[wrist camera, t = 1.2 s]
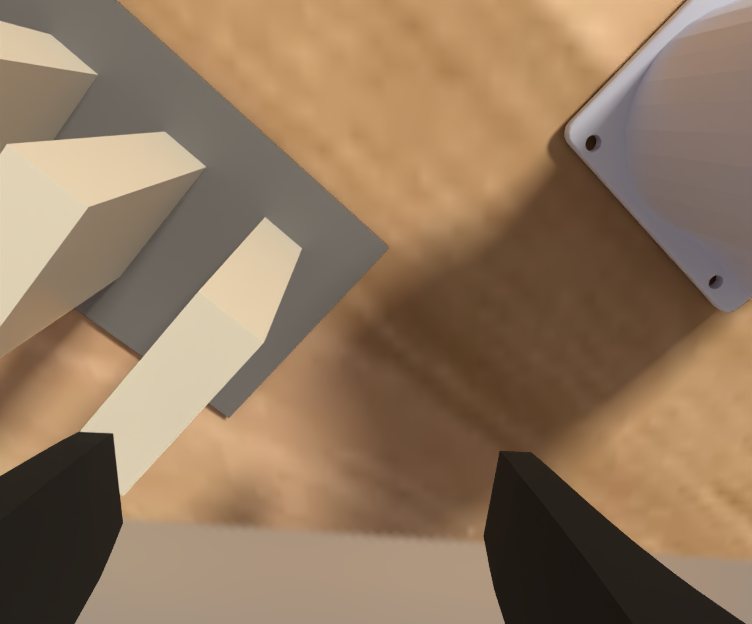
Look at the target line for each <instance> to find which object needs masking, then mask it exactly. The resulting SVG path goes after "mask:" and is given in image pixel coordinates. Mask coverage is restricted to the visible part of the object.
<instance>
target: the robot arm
mask: <svg viewBox="0 0 752 624" xmlns="http://www.w3.org/2000/svg"><path fill="white" fill-rule="evenodd" d="M591 135H593V136H595V138H596V145H595V147H594V148H593V149H592V150H590V151H588V150H587V149H586V146H585V143H586V140H587V138H588V137H589V136H591ZM564 136H565V140H566V142H567V143H568V145H569V146H570V147H571V148H572V149H573V150H574V151H575V152H576V154H577V155H578V156H579V157H580V158H581V159H582V160H583V161H584V162H585V164H586V165H587V166H588V167H589V168H590V169H591V170H592V171H593V172H594V173H595V175H596V176H597V177H598V178H599V179H600V180H601V181H602V182H603V183H604V185H605V186H606V187H607V188H608V189H609V190H610V191H611V192H612V193H613V195H614V196H615V197H616V198H617V199H618V200H619V201H620V202H621V203H622V205H623V206H624V207H625V208H626V209H627V210H628V211H629V212H630V213H631V215H632V216H633V217H634V218H635V219H636V220H637V221H638V222H639V223H640V225H641V226H642V227H643V228H644V229H645V230H646V231H647V232H648V233H649V235H650V236H651V237H652V238H653V239H654V240H655V241H656V242H657V243H658V245H659V246H660V247H661V248H662V249H663V250H664V251H665V252H666V253H667V255H668V256H669V257H670V258H671V259H672V260H673V261H674V262H675V263H676V265H677V266H678V267H679V268H680V269H681V270H682V271H683V272H684V273H685V275H686V276H687V277H688V278H689V279H690V280H691V281H692V282H693V283H694V285H695V286H696V287H697V288H698V289H699V290H700V291H701V292H702V293H703V295H704V296H705V297H706V298H707V299H708V300H709V301H710V302H711V303H712V305H713V306H714V307H716V308H717V309H719V310H721V311H723V312H731V311H734V310H736V309H737V308H739V307H740V306H741V305H742V304H744V303H745V302H746V301H747V300H748V299H750V298H751V297H752V0H687V1H686V2H685V3H684V4H683V5H682V6H681V7H680V8H679V9H678V10H677V11H676V12H675V13H674V14H673V15H672V16H671V17H670V18H669V19H668V20H667V21H666V22H665V23H664V25H663V26H662V27H661V28H660V29H659V30H658V31H657V32H656V33H655V34H654V35H653V36H652V37H651V38H650V39H649V40H648V41H647V42H646V43H645V44H644V45H643V46H642V47H641V48H640V49H639V50H638V51H637V52H636V53H635V54H634V55H633V56H632V57H631V58H630V59H629V60H628V61H627V62H626V63H625V65H624V66H623V67H622V68H621V69H620V70H619V71H618V72H617V73H616V74H615V75H614V76H613V77H612V78H611V79H610V80H609V81H608V82H607V83H606V84H605V85H604V86H603V87H602V88H601V89H600V90H599V91H598V92H597V93H596V94H595V95H594V96H593V97H592V98H591V99H590V100H589V101H588V102H587V103H586V104H585V106H584V107H583V108H582V109H581V110H580V111H579V112H578V113H577V114H576V115H575V116H574V117H573V118H572V119H571V120H570V121H569V122H568V124H567V125H566V128H565V131H564ZM715 275H716V281H715V282H714V283H713V284H712V285H710V286H709V280H710V279H711V278H712V277H713V276H715ZM122 524H123V519H122V510H121V501H120V492H119V483H118V473H117V464H116V455H115V446H114V436H113V433H95V432H78V433H76V434H74V435H72V436H70V437H68V438H66V439H64V440H62V441H60V442H58V443H57V444H55V445H53V446H51V447H49V448H48V449H46V450H44V451H43V452H41V453H39V454H37V455H36V456H34V457H32V458H31V459H29V460H27V461H25V462H24V463H22V464H20V465H19V466H17V467H15V468H13V469H12V470H10V471H8V472H7V473H5V474H3V475H1V476H0V624H74V623H75V622H76V620H77V618H78V616H79V615H80V613H81V611H82V609H83V608H84V606H85V604H86V602H87V600H88V598H89V597H90V595H91V593H92V592H93V590H94V588H95V586H96V584H97V582H98V581H99V579H100V577H101V575H102V572H103V570H104V567H105V565H106V563H107V561H108V558H109V556H110V554H111V552H112V549H113V547H114V544H115V542H116V539H117V537H118V534H119V532H120V529H121V527H122ZM484 541H485V546H486V551H487V556H488V562H489V567H490V572H491V577H492V581H493V586H494V590H495V593H496V597H497V599H498V603H499V606H500V609H501V612H502V615H503V618H504V621H505V624H745V623H744V622H742V621H741V620H739V619H738V618H736V617H735V616H734V615H732V614H731V613H729V612H728V611H726V610H725V609H723V608H722V607H721V606H719V605H717V604H716V603H715V602H713V601H712V600H710V599H709V598H708V597H706V596H705V595H703V594H702V593H700V592H699V591H698V590H696V589H695V588H693V587H692V586H691V585H689V584H688V583H687V582H685V581H684V580H682V579H681V578H680V577H678V576H677V575H676V574H674V573H673V572H672V571H670V570H669V569H668V568H666V567H665V566H664V565H663V564H662V563H660V562H659V561H658V560H656V559H655V558H654V557H653V556H651V555H650V554H649V553H648V552H646V551H645V550H644V549H642V548H641V547H640V546H639V545H637V544H636V543H635V542H634V541H633V540H631V539H630V538H629V537H628V536H627V535H625V534H624V533H623V532H622V531H620V530H619V529H618V528H617V527H616V526H615V525H613V524H612V523H611V522H610V521H609V520H608V519H606V518H605V517H604V516H603V515H602V514H601V513H599V512H598V511H597V510H596V509H595V508H594V507H593V506H591V505H590V504H589V503H588V502H587V501H586V500H585V499H584V498H582V497H581V496H580V495H579V494H578V493H577V492H576V491H575V490H574V489H572V488H571V487H570V486H569V485H568V484H567V483H566V482H565V481H563V480H562V479H561V478H560V477H559V476H558V475H557V474H556V473H555V472H553V471H552V470H551V469H550V468H549V467H548V466H547V465H546V464H544V463H543V462H542V461H541V460H540V459H539V458H537V457H536V456H535V455H534V454H532V453H531V452H510V451H500V452H499V458H498V463H497V468H496V473H495V479H494V484H493V489H492V494H491V500H490V505H489V510H488V515H487V521H486V526H485V531H484Z"/></svg>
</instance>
